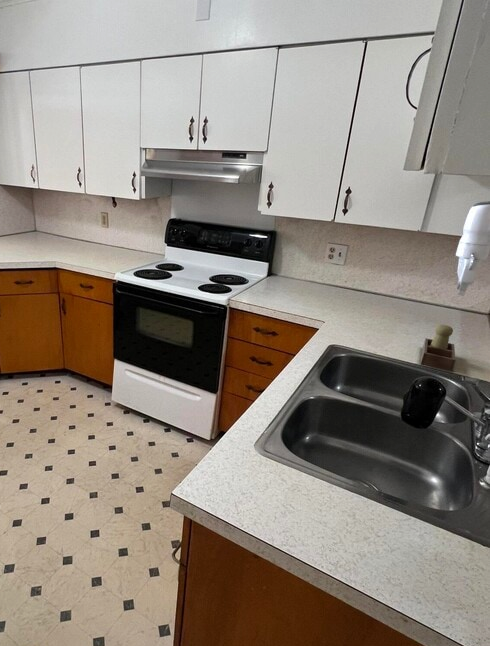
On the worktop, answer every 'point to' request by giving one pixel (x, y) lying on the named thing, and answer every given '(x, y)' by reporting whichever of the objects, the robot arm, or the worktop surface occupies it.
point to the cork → (442, 336)
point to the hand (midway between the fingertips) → (460, 292)
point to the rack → (438, 356)
